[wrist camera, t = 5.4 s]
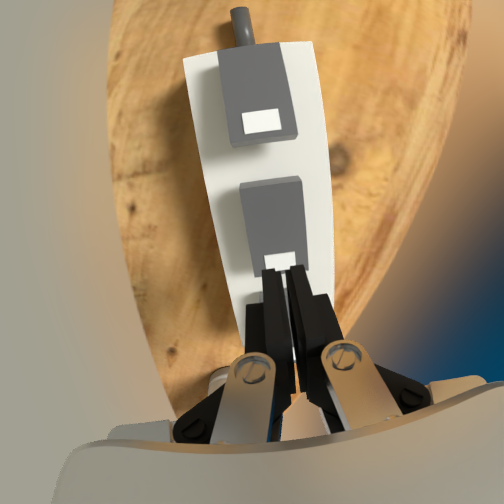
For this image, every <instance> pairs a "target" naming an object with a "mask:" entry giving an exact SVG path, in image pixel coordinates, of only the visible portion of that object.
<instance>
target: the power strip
mask: <svg viewBox="0 0 504 504" xmlns="http://www.w3.org/2000/svg"><path fill="white" fill-rule="evenodd" d="M230 14H231V20H232V25H233V31H234V36H235V42H236V47H241V46H248V45H255V39H254V34H253V29H252V24H251V19H250V14H249V9H248V8H247V7H236V8H233V9H231V10H230ZM280 48H281V52H282V56H283V60H284V65H285V69H286V74H287V78H288V83H289V88H290V93H291V98H292V103H293V108H294V113H295V118H296V124H297V129H298V136H297V138H296V139H295V140H288V141H279V142H271V143H263V144H256V145H249V146H242V147H236V148H233V147H232V146H231V144H230V140H229V133H228V126H227V119H226V112H225V105H224V99H223V92H222V85H221V78H220V70H219V63H218V56H217V51H215V52H210V53H206V54H201V55H197V56H192V57H188V58H184V59H183V63H184V70H185V76H186V82H187V88H188V94H189V100H190V105H191V111H192V117H193V122H194V128H195V133H196V138H197V144H198V149H199V154H200V159H201V165H202V170H203V175H204V180H205V185H206V189H207V194H208V199H209V204H210V209H211V213H212V218H213V223H214V227H215V232H216V236H217V241H218V245H219V250H220V254H221V259H222V263H223V267H224V272H225V276H226V280H227V285H228V289H229V293H230V297H231V301H232V305H233V310H234V314H235V318H236V322H237V326H238V330H239V334H240V338H241V342H242V345H243V347H245V316H246V304H253V303H260V301H259V293H260V292H263V288H262V277H256V278H255V277H254V271H253V266H252V260H251V254H250V249H249V243H248V237H247V232H246V226H245V220H244V215H243V209H242V203H241V198H240V192H239V186H240V183H244V182H251V181H258V180H265V179H273V178H280V177H288V176H297V175H298V176H299V177H300V179H301V180H302V186H303V196H304V207H305V219H306V232H307V247H308V264H309V270H308V271H306V274H307V277H308V280H309V283H310V287H311V290H312V293H313V295H319V294H325V293H327V294H328V296H329V299H330V301H331V304H332V307H333V310H334V229H333V206H332V190H331V176H330V164H329V153H328V143H327V134H326V125H325V117H324V110H323V103H322V96H321V89H320V83H319V77H318V71H317V65H316V60H315V54H314V49H313V44H312V41H305V42H284V43H280ZM281 275H282V281H283V287H284V289H287V286H286V276H285V274H281Z"/></svg>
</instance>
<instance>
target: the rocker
mask: <svg viewBox="0 0 504 504" xmlns="http://www.w3.org/2000/svg"><path fill="white" fill-rule="evenodd" d="M217 56H218V63H219V70H220V78H221V85H222V92H223V99H224V105H225V112H226V119H227V126H228V133H229V140H230V144H231V146H232V147H233V148H236V147H242V146H249V145H256V144H263V143H271V142H279V141H288V140H295V139H296V138H297V136H298V129H297V124H296V118H295V113H294V108H293V103H292V98H291V93H290V88H289V83H288V78H287V74H286V69H285V65H284V60H283V56H282V52H281V48H280V43H279V42H276V43H265V44H256V45H248V46H241V47H234V48H228V49H223V50H217Z"/></svg>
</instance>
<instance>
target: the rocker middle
mask: <svg viewBox="0 0 504 504" xmlns="http://www.w3.org/2000/svg"><path fill="white" fill-rule="evenodd" d="M239 192H240V198H241V203H242V209H243V215H244V220H245V226H246V232H247V237H248V243H249V249H250V254H251V260H252V266H253V271H254V277H255V278H256V277H262V271H261V270H264V269H272V268H275V272H276V271H281V274H285V270H290V266H294V265H301V264H303V265H304V267H305V271H308V270H309V264H308V247H307V232H306V219H305V207H304V196H303V186H302V180H301V179H300V177H299V176H298V175H297V176H288V177H280V178H273V179H265V180H258V181H251V182H244V183H240V186H239Z"/></svg>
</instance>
